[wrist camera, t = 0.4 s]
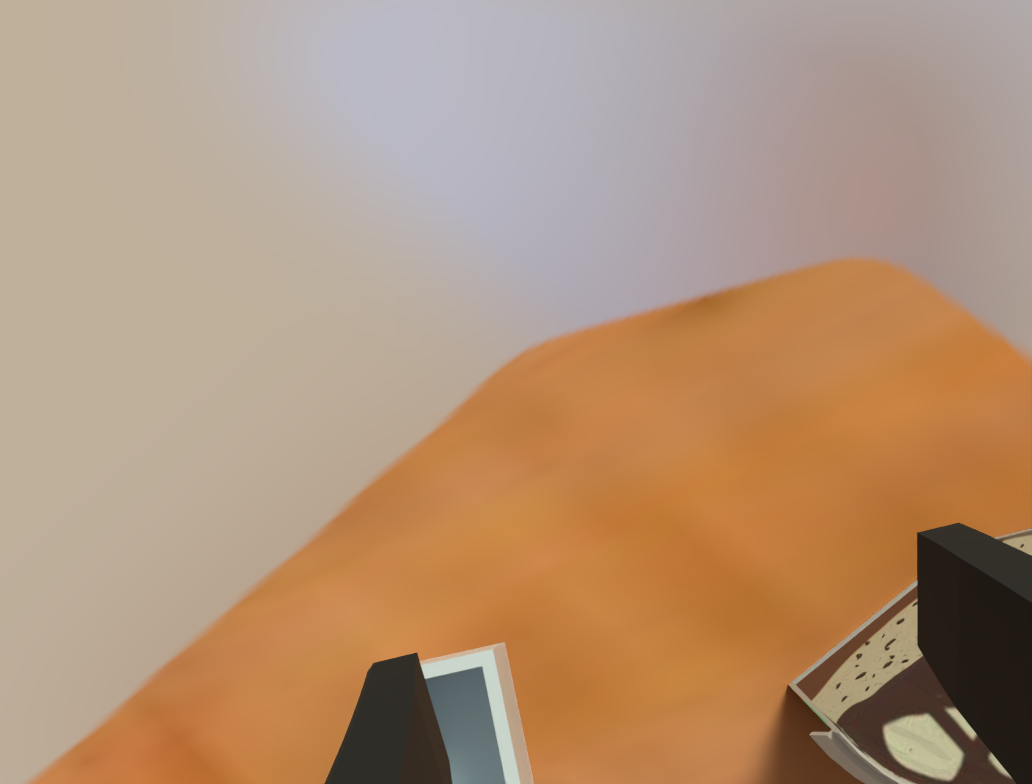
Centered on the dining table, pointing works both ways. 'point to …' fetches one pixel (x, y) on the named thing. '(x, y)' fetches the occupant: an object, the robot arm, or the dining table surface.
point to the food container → (895, 704)
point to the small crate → (479, 716)
